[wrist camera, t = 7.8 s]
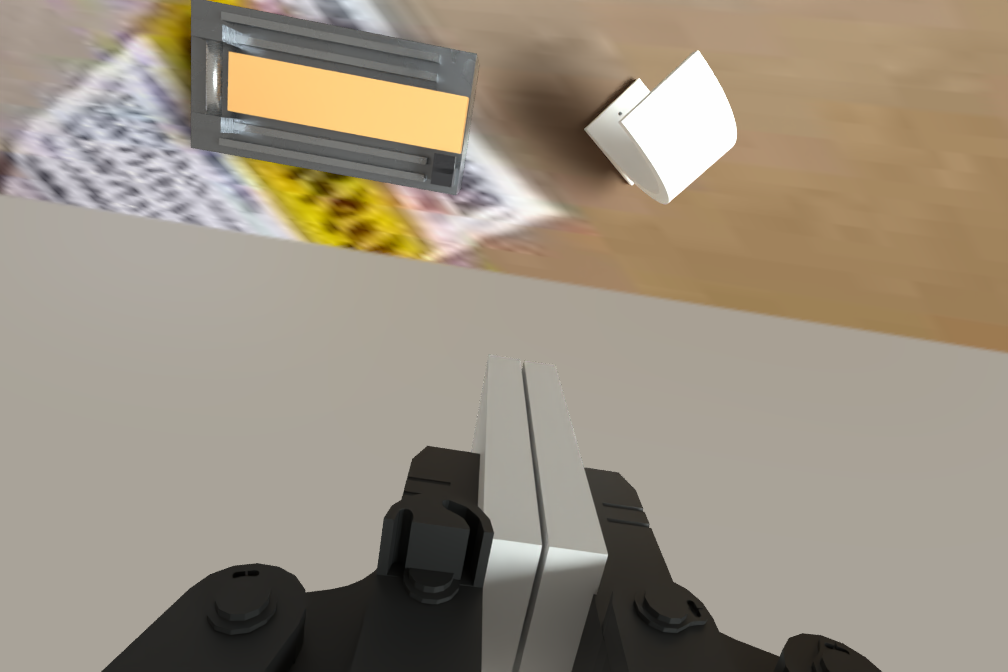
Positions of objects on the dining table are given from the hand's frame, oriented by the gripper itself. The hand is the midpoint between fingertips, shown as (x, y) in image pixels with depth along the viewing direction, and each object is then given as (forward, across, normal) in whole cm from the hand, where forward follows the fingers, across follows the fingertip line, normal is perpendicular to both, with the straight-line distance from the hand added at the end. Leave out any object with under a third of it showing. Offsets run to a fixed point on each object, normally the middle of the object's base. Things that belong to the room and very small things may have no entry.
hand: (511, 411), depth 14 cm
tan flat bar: (+22, -10, +7) cm, 25 cm away
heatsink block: (+28, -11, +7) cm, 31 cm away
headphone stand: (+29, +8, +8) cm, 31 cm away
